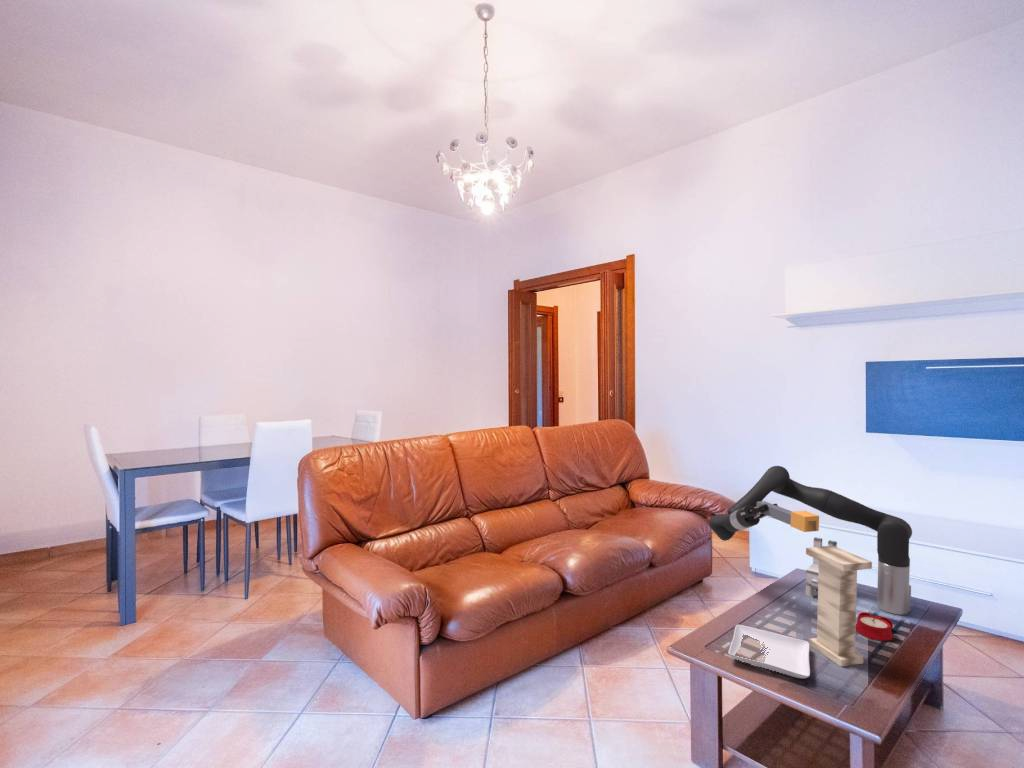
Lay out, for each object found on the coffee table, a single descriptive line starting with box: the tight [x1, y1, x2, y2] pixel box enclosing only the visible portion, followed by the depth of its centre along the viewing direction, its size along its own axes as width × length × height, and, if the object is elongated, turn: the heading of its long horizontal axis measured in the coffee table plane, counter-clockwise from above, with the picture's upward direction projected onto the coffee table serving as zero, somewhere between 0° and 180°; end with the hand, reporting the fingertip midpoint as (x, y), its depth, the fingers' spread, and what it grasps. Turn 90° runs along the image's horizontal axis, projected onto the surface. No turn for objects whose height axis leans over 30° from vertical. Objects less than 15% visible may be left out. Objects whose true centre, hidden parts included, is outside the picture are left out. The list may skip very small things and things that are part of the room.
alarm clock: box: [855, 611, 894, 642], centre depth 170 cm, size 10×6×15 cm
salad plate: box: [727, 624, 811, 679], centre depth 154 cm, size 21×21×3 cm
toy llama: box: [805, 536, 838, 598], centre depth 198 cm, size 8×18×20 cm, turn 136°
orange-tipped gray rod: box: [757, 500, 820, 533], centre depth 177 cm, size 6×24×5 cm, turn 12°
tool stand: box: [805, 545, 873, 667], centre depth 156 cm, size 10×14×31 cm
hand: (772, 506), depth 182 cm, fingers closed on orange-tipped gray rod, 3 cm apart
